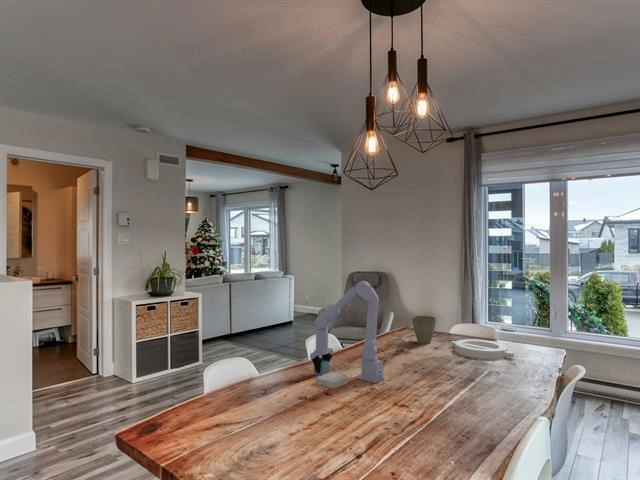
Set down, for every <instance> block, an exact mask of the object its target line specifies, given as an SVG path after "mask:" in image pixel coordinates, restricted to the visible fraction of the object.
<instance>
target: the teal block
mask: <svg viewBox="0 0 640 480" xmlns="http://www.w3.org/2000/svg"><path fill="white" fill-rule="evenodd" d="M327 373H330V362H329V361H325V360H322V362H321V369H320V373H317V372H316V371H315V367H314V366H313V375H314V376H317V377H319V376H322V375H324V374H327Z"/></svg>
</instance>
